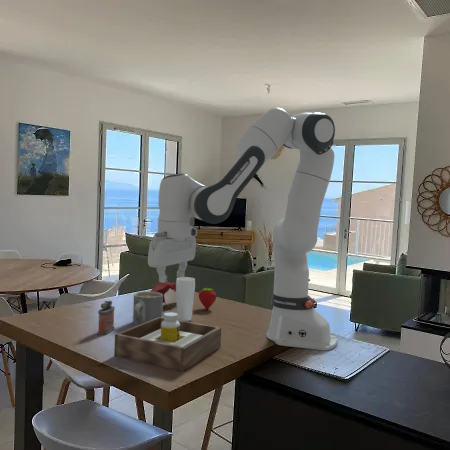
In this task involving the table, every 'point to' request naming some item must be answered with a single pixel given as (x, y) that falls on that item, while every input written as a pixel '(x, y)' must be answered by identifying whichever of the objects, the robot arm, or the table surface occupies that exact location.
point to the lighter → (106, 318)
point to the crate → (168, 344)
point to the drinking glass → (185, 297)
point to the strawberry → (207, 297)
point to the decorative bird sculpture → (164, 288)
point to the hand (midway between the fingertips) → (172, 279)
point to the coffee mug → (147, 306)
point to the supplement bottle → (170, 327)
